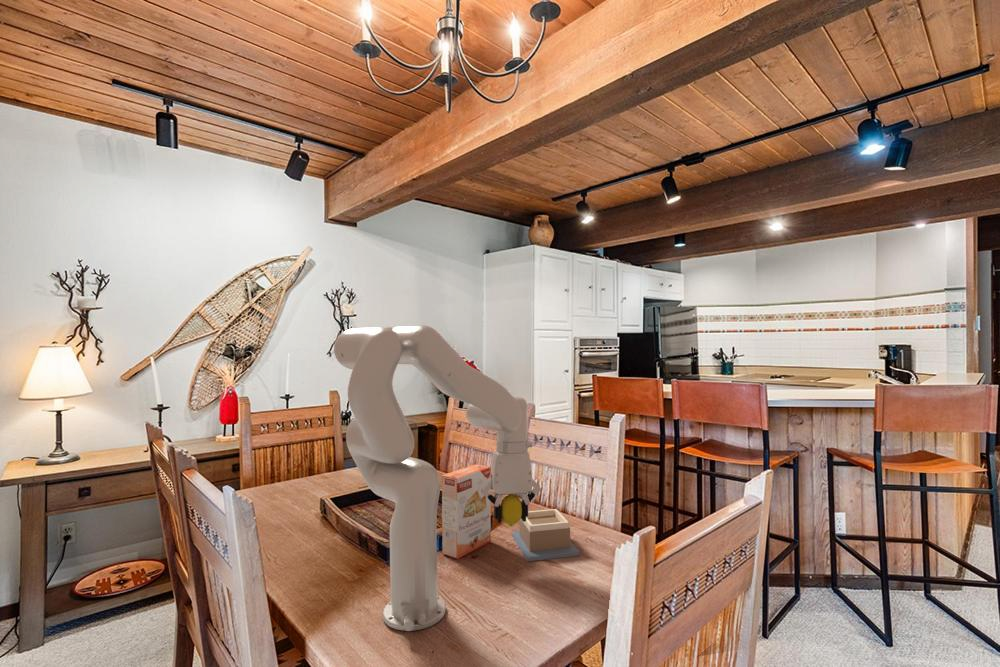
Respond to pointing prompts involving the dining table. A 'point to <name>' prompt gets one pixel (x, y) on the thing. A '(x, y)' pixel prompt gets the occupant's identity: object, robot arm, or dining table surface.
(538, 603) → the dining table surface
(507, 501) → the lemon
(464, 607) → the dining table surface
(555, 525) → the stand
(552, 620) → the dining table surface
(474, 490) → the cracker box
